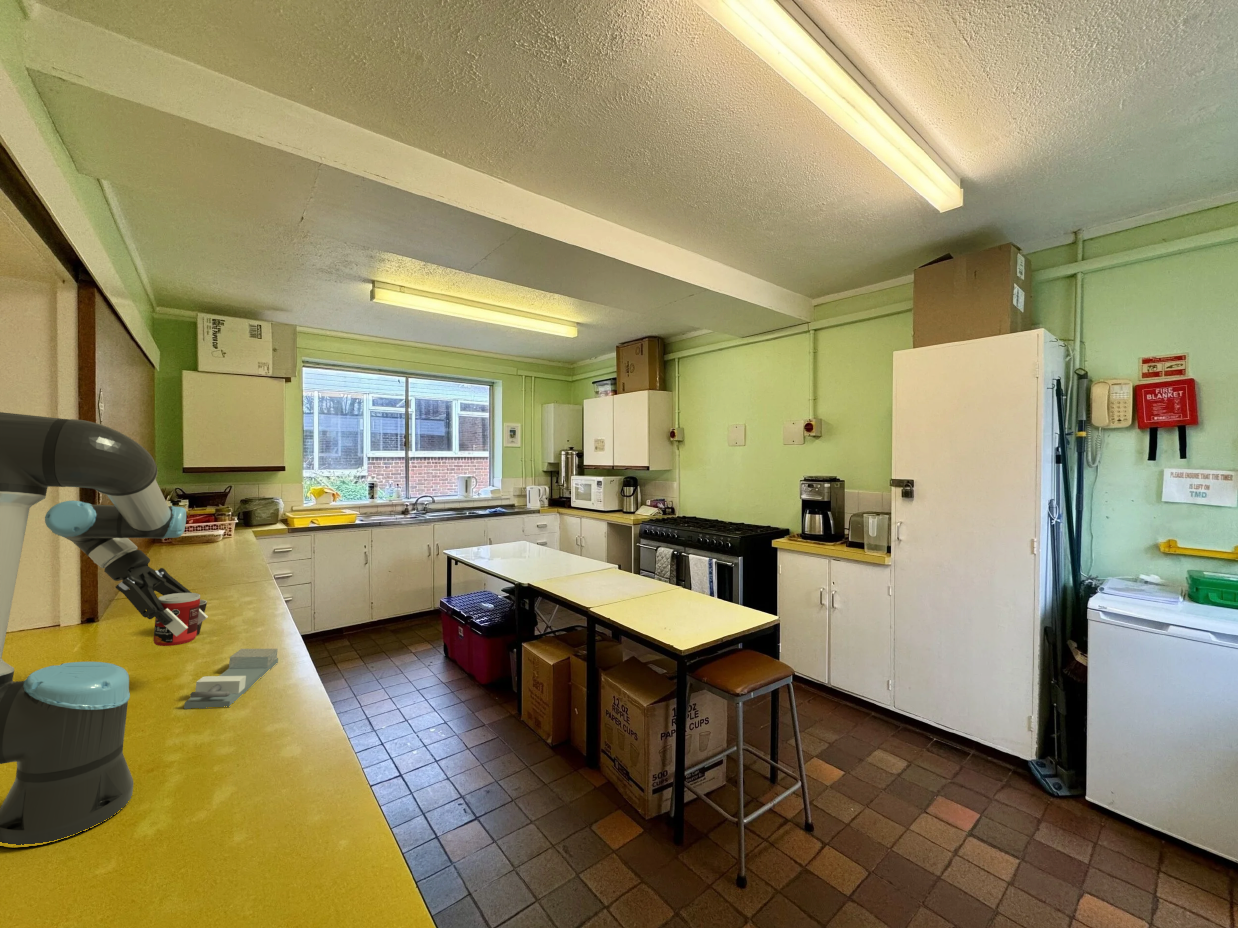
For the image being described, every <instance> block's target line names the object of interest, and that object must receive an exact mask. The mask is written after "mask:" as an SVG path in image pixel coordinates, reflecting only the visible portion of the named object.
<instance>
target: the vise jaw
mask: <svg viewBox="0 0 1238 928" xmlns="http://www.w3.org/2000/svg"><path fill="white" fill-rule="evenodd" d="M277 658H278V648H240V649H239V650H237V651H236V652H235V653H233V654H232V655H231V656H230V657H229V662H228V663H229V665H228V669H229V668H267V667H268V666H270V665H271V664H272V663H273V662H274V661H275V660H276V659H277Z"/></svg>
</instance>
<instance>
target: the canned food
mask: <svg viewBox="0 0 1238 928" xmlns="http://www.w3.org/2000/svg"><path fill="white" fill-rule="evenodd" d="M157 598H158V599H159V601H160V603H161V604H162V606H163V608H164V610H165V609H167V608H168V609H169V610H170V611H171V612H172V613H173V614H174V615H176V616H177V617H178V618H179V619H180V620H181V621H182V622H183V623H184V624H185V625H186V626H187V627H188V628H187V629H186V630H184V631H183V632H182V633H181V634H179V635H178V636H175V635H174V634H173V633H172V632H171V631H170V630H169V629H168V628H167V627H165V626H164V625H163V624H162V623H161V622H160V621H159V620H158V619H157V618H156V617H154V618H155V621H154V631H153V641H152V642H153V643H154V645H155V646H159V647H171V646H180V645H184V644H185V645H186V644H187V643H191V642H192V641H194V640H195V639H196V637H197V636H198V635H197V626H198V616H199V607H200V600H201V594H199V593H196V592H192V593H175V594H168V595H161V596H159V597H157ZM164 610H163V611H164ZM196 635H197V636H196Z"/></svg>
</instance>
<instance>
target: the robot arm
mask: <svg viewBox="0 0 1238 928" xmlns="http://www.w3.org/2000/svg"><path fill="white" fill-rule="evenodd" d="M157 477H158V466H157V463H156V461H155V460H154V458H153V455H151V453H150V452H149V451H148V450H147V449H146V448H145V447H143V445H141V444H140V443H139V442H137V441H135V440H134V439H132V438H131V437H129V436H128V435H126V434H124V433H122V432H120V431H118V430H115V429H113V428H112V427H109V426H106V425H103V424H100V423H97V422H93V421H88V420H85V419H84V420H83V419H73V418H67V419H66V418H60V417H52V416H51V417H50V416H42V415H41V416H40V415H31V414H23V413H22V414H20V413H13V412H12V413H11V412H1V411H0V765H4V764H8V763H16V773H15V779H14V781H13V783H12V785H11V786H10V789H9V791H8V793H7V795H6V796H5V799H4V801H3V802H2V804H1V805H0V842H2V843H8V844H16V845H21V844H22V845H24V844H35V843H43V842H49V841H54V840H57V839H61V838H64V837H67V836H70V835H73V834H76V833H78V832H80V831H83V830H85V829H88V828H90V827H92V826H94V825H96V824H98V823H101V822H103V821H104V820H106V819H108V818H110V817H111V816H113V815H114V814H115V813H117V812H118V811H119V810H121V808H123V807H124V806H125V805H126V804H127V803H128V801H129V800H130V799H132V798H131V796H132V797H133V791H134V779H133V776H132V773H131V770H130V768H129V766H128V764H127V760H126V757H125V755H124V751H123V750H124V742H125V731H126V721H127V713H128V712H127V711H128V704H129V700H130V698H131V694H130V676H129V673H128V671H127V670H126V669H125V668H124V667H122V666H119V665H117V664H115V663H111V662H110V663H109V662H102V661H74V662H64V663H61V664H59V665H50V666H46V667H43V668H39V669H37V670H35V671H32V673H30V674H29V675H28V676H27V678H26V679H25V680H20V681H13V679H14V674H15V667H13V666H12V665H10V664H9V663H7V662H6V661H4V659H3V658H2V657H3V653H4V648H5V647H4V646H5V642H6V636H7V630H8V626H9V620H10V615H11V609H12V604H13V598H14V593H15V588H16V584H17V577H18V573H19V567H20V562H21V557H22V551H23V545H24V541H25V535H26V529H27V526H28V518H29V513H30V508H32V506H34V505H37V503H39V502H41V501H43V500H45V499H46V497H47V491H48V488H49V487H50V488H51V487H53V488H56V487H57V488H59V487H60V488H65V487H67V488H84V489H85V488H86V489H93V490H95V491H96V492H98V493H100V494H102V495H104V496H105V495H106V496H107V497H108V499H109V500H110V501H111V503H112V505H111V504H91V503H89V502H84V501H80V500H65V501H61V502H59V503H57V504H55V505H53V506H51V507H50V508H49V509H48V510H47V512H46V514H45V516H44V523H45V526H46V527H47V528H48V529H49V530H50V531H51V532H52V534H55V536H56V535H57V536H60V537H63V538H64V539H66V540H68V541H70V542H71V543H73V545H75V546H76V547H78V549H80V551H82V552H83V553H84V554H85V555H86V556H87V557H89V558H90V559H91V560H92V561H93V563H94V564H96V565H97V566H98V567H99V568H101V569H104V573H105V574H106V575H108V577H109V578H110V579H112V580H113V581H114V582H120V581H121V582H120V583H118V584H116V585H115V589H116V590H118V591H119V592H120V593H121V594H123V595H124V596H125V598H126V599H127V600H128V601H129V602H130V603H131V604H132V606H133V607H134V608H135V609H136V610H137V611H138V612H139V614H140V615H141V616H142V617H143V618H147V619H148V620H152V619H153V618H157V619H158V620H159V621H160V622H161V623H162V624H163V625H164V626H165V627H167V628H168V629H169V630H170V631H171V632H172V633H173V634H174V635H175V636H178V635H179V634H181V633H182V632H183V631H184V630H186V629H187V628H188V627H187V626H186V625H185V624H184V623H183V622H182V621H181V620H180V619H179V618H178V617H177V616H176V615H174V614H173V613H172V612H171V611H170V610H169V609H168V608H167V609H165V610H164V608H163V606H162V604H161V603H160V601H159V599H158V598H159V597H158V596H157V593H159V594H160V595H161V596H164V595H168V594H175V593H193V592H191V590H189V589H188V588H186V586H184V585H183V584H181V583H180V582H179V581H178V580H177V579H175V578H174V577H173V576H172V575H171V574H169V573H168V572H167V570H166V569H165V568H163V567H160V568H158V569H157V570H155V569H153V568H151V567H150V566H149V564H150V562H151V558H150V557H149V556H147V555H146V554H145V553H144V551H142V550H140V549H138V546H137V545H136V544H135V542H133V541H132V540H130V539H162V540H165V539H167V538H169V539H172V538H173V539H174V538H179V537H181V536H182V535H183V534H184V532H185V529H186V523H187V511H186V508H185V507H182V506H174V505H168V503H167V500H166V499H165V497H164V494H163V492H162V490H161V488H160V486H159V484H158V481H157ZM156 592H157V593H156ZM163 610H164V611H163ZM208 618H209V615H207V614H206V612H205V613H204V612H203V611H202V610H201V609H199V616H198V624H200V623H201V622H202V623H203V622H204V621H205V620H206V619H208ZM130 801H131V800H130ZM130 801H129V802H130ZM128 804H129V803H128ZM128 804H127V805H128ZM127 805H126V806H127ZM126 806H125V807H126ZM125 807H124V808H125ZM124 808H123V809H124ZM121 811H122V810H121ZM117 814H118V813H117ZM113 817H114V816H113ZM110 819H111V818H110ZM108 820H109V819H108ZM103 823H104V822H103Z"/></svg>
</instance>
